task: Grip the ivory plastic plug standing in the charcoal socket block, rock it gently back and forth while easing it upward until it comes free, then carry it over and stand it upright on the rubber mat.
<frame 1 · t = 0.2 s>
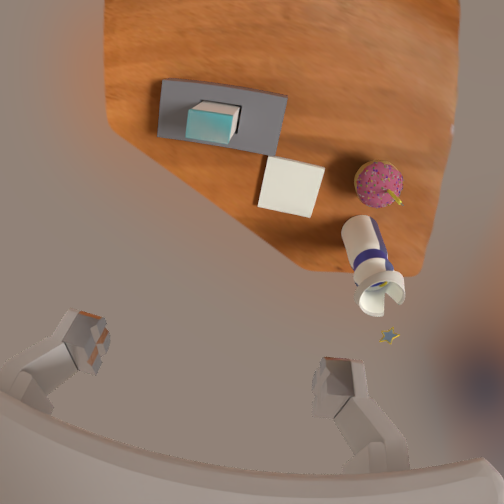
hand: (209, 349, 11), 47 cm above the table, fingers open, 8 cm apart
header: (222, 112, 50), on the table
mat: (290, 185, 57), on the table
plug: (216, 118, 46), in the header
water bottle: (361, 231, 61), on the table
cupcake: (372, 174, 54), on the table
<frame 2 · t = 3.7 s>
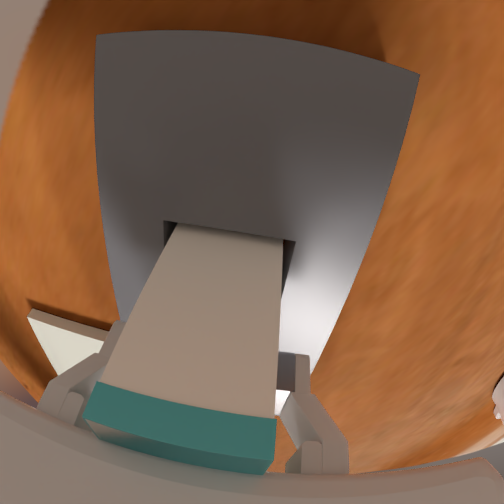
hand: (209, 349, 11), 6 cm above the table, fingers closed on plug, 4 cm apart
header: (233, 250, 16), on the table
mat: (94, 360, 24), on the table
plug: (212, 335, 12), in the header, touching gripper
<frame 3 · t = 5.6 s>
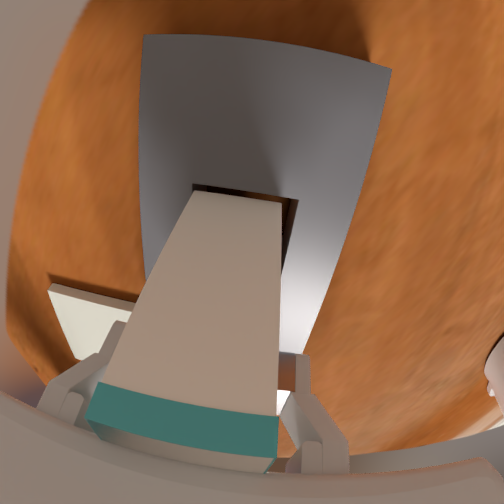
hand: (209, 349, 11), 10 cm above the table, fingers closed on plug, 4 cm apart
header: (244, 218, 19), on the table
mat: (109, 333, 27), on the table
plug: (212, 335, 12), point 9 cm above the table, touching gripper
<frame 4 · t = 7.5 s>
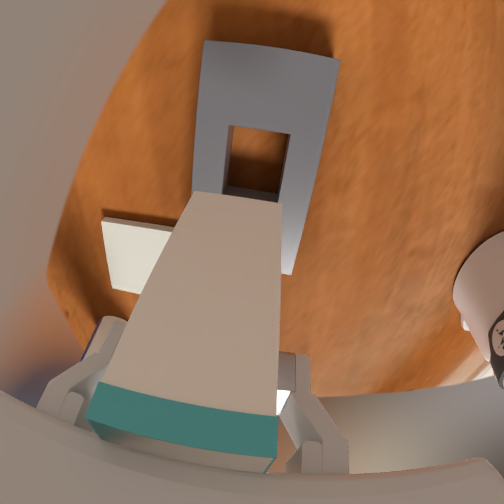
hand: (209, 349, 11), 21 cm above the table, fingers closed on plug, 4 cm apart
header: (257, 155, 28), on the table
mat: (147, 259, 36), on the table
plug: (212, 335, 12), point 20 cm above the table, touching gripper
water bottle: (121, 333, 46), on the table
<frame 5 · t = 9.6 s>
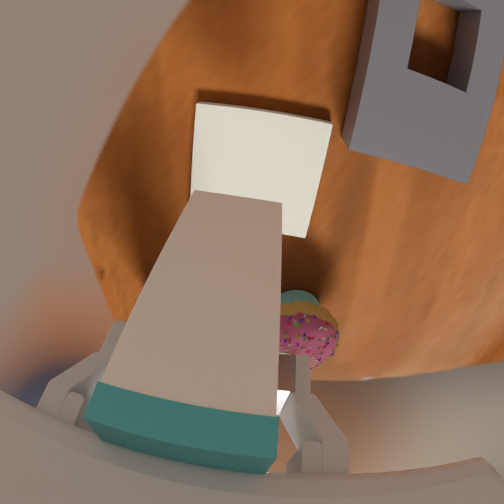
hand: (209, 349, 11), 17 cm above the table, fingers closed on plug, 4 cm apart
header: (427, 36, 17), on the table
mat: (256, 169, 25), on the table
plug: (212, 335, 12), point 17 cm above the table, touching gripper
cupcake: (294, 304, 34), on the table
when the fingers open (9 cm above the table, at t = 11.4 s): plug drops 1 cm, resting on mat.
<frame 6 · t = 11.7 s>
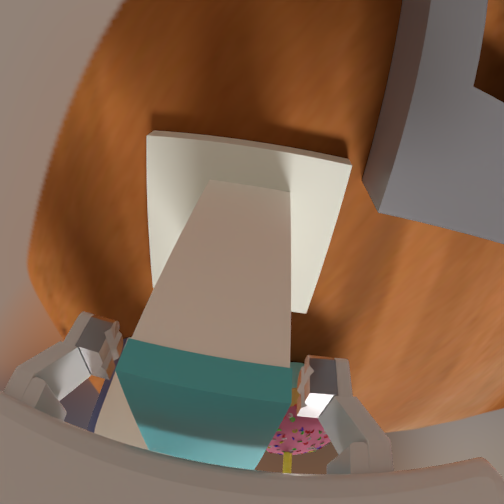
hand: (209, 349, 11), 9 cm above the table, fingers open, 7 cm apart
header: (485, 37, 10), on the table
mat: (238, 226, 18), on the table
plug: (226, 309, 13), on the mat, point 6 cm above the table
water bottle: (157, 363, 28), on the table
cupcake: (291, 374, 26), on the table
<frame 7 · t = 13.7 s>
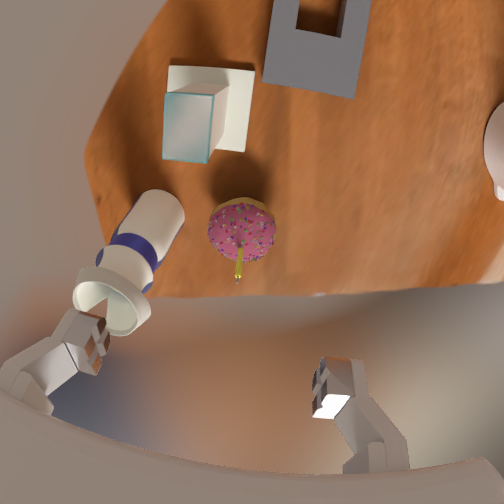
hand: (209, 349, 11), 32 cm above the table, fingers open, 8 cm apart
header: (318, 9, 28), on the table
mat: (208, 106, 36), on the table
plug: (199, 116, 30), on the mat, point 6 cm above the table
water bottle: (160, 215, 45), on the table
cupcake: (244, 213, 44), on the table
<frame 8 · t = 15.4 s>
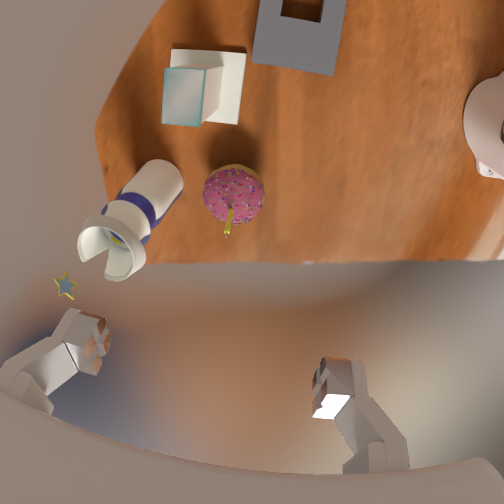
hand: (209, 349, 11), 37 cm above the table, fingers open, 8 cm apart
mat: (205, 84, 39), on the table
plug: (195, 90, 34), on the mat, point 6 cm above the table
water bottle: (161, 183, 49), on the table
cupcake: (237, 181, 47), on the table
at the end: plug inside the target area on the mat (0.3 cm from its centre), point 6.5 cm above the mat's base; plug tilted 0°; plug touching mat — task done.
